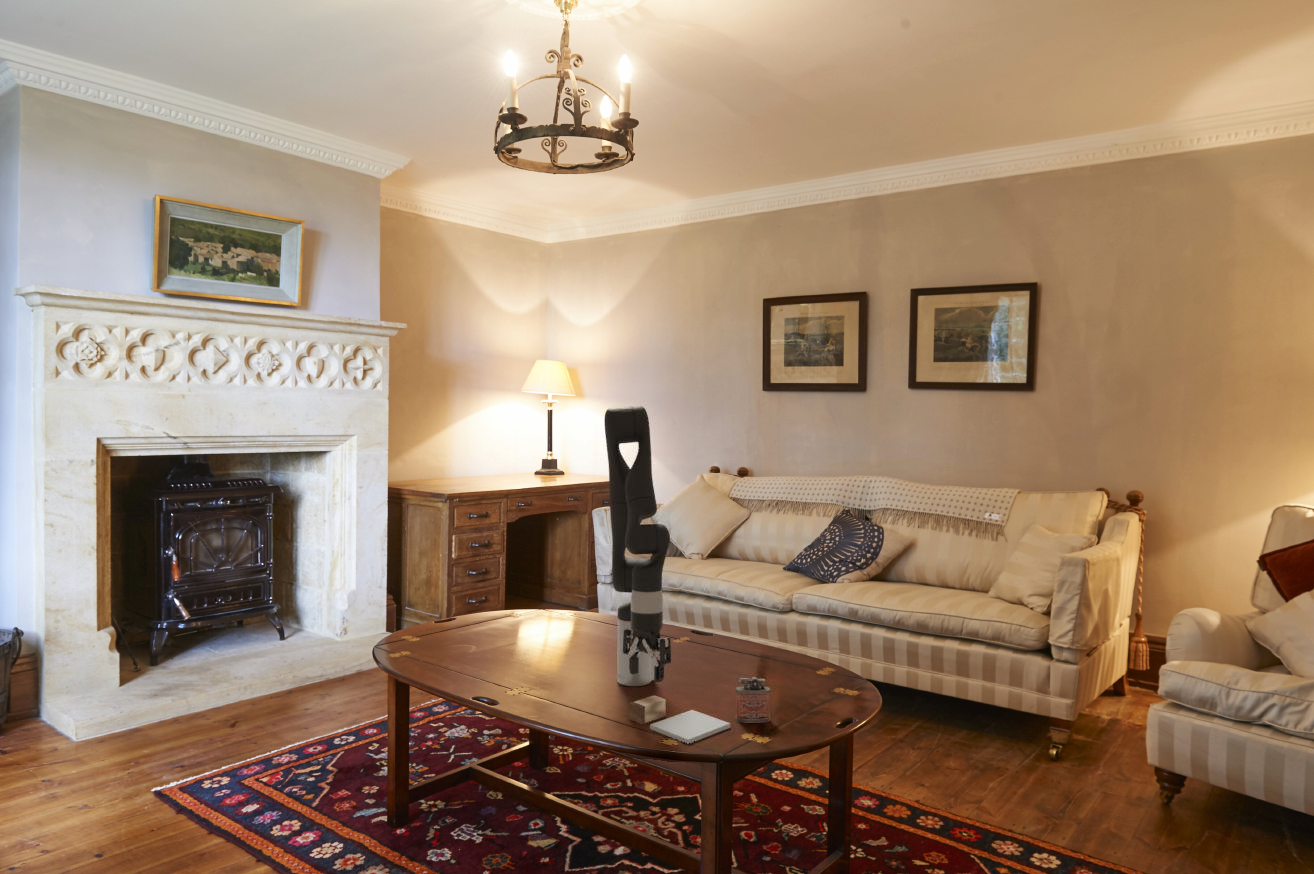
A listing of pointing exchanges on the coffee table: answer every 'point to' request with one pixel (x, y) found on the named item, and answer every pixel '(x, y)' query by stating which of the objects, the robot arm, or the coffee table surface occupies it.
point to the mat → (690, 726)
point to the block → (647, 709)
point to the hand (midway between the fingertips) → (646, 677)
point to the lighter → (752, 701)
